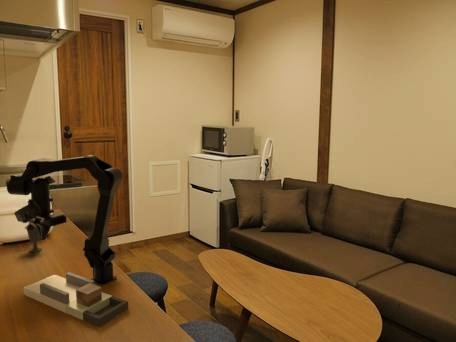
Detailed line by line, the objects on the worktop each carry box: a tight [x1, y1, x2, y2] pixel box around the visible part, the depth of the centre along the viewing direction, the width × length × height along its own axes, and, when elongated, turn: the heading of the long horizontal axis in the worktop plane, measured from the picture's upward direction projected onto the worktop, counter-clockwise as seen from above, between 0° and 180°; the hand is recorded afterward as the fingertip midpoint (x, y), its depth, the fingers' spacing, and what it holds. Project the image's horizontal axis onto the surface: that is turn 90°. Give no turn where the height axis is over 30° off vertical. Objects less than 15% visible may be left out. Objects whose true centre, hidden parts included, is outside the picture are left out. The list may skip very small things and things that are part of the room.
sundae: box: [24, 222, 43, 253], centre depth 158 cm, size 7×7×15 cm
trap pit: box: [82, 295, 129, 328], centre depth 112 cm, size 6×11×2 cm, turn 150°
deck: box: [23, 274, 112, 321], centre depth 120 cm, size 28×11×2 cm, turn 60°
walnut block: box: [76, 283, 102, 307], centre depth 114 cm, size 5×5×4 cm
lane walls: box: [40, 271, 95, 304], centre depth 120 cm, size 12×10×3 cm
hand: (43, 239), depth 134 cm, fingers closed
